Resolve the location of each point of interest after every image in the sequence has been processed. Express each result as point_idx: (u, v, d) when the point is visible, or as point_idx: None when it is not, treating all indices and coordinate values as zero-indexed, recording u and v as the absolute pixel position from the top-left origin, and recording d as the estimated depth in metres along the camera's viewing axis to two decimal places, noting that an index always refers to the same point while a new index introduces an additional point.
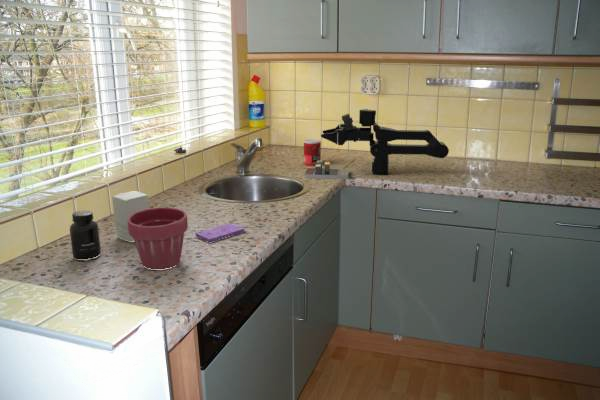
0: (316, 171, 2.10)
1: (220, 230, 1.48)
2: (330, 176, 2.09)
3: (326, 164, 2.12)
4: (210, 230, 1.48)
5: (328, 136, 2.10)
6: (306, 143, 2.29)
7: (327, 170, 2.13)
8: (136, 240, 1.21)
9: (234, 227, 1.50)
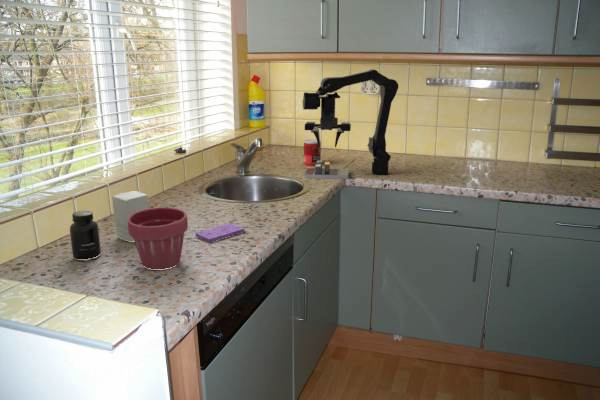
0: (316, 171, 2.10)
1: (220, 230, 1.48)
2: (330, 176, 2.09)
3: (326, 164, 2.12)
4: (210, 230, 1.48)
5: None
6: (306, 143, 2.29)
7: (327, 170, 2.13)
8: (136, 240, 1.21)
9: (234, 227, 1.50)
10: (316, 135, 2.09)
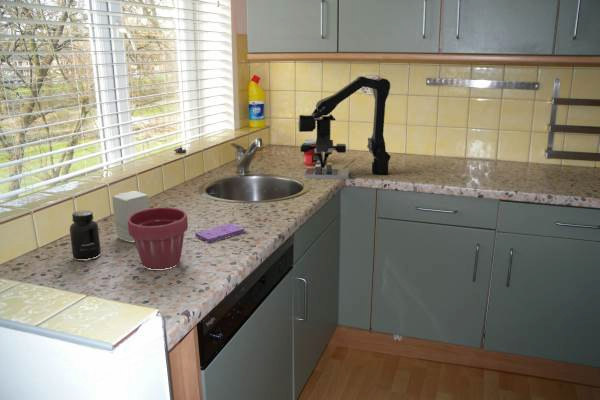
0: (316, 171, 2.10)
1: (220, 230, 1.48)
2: (330, 176, 2.09)
3: (328, 164, 2.12)
4: (210, 230, 1.48)
5: (326, 160, 2.13)
6: None
7: (329, 170, 2.13)
8: (136, 240, 1.21)
9: (234, 227, 1.50)
10: (319, 157, 2.11)
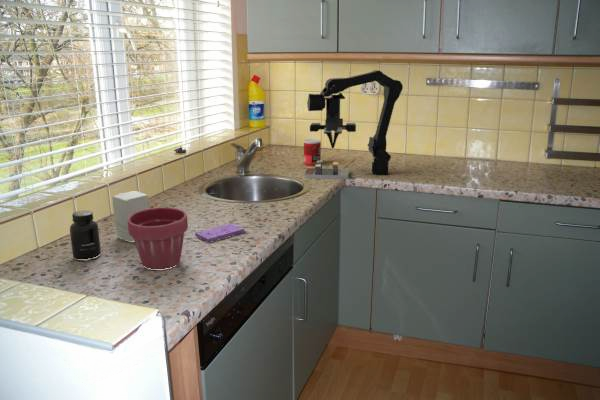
0: (316, 171, 2.10)
1: (220, 230, 1.48)
2: (330, 176, 2.09)
3: (334, 164, 2.12)
4: (210, 230, 1.48)
5: None
6: (306, 143, 2.29)
7: (335, 170, 2.13)
8: (136, 240, 1.21)
9: (234, 227, 1.50)
10: (329, 136, 2.08)
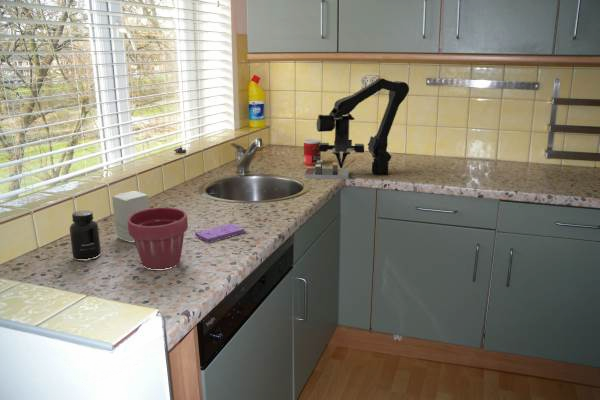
0: (316, 171, 2.10)
1: (220, 230, 1.48)
2: (330, 176, 2.09)
3: (334, 164, 2.12)
4: (210, 230, 1.48)
5: (344, 160, 2.12)
6: (306, 143, 2.29)
7: (335, 170, 2.13)
8: (136, 240, 1.21)
9: (234, 227, 1.50)
10: (337, 156, 2.10)
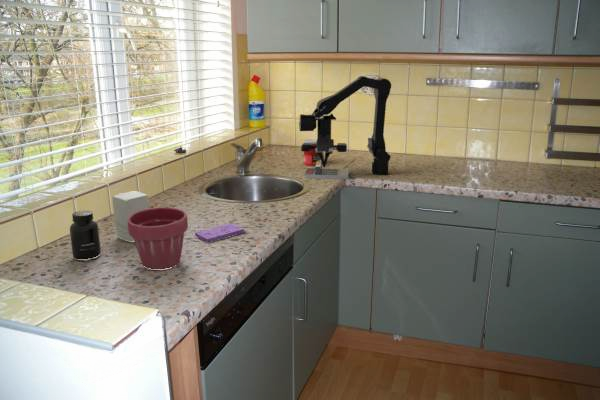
0: (316, 171, 2.10)
1: (220, 230, 1.48)
2: (330, 176, 2.09)
3: None
4: (210, 230, 1.48)
5: None
6: None
7: None
8: (136, 240, 1.21)
9: (234, 227, 1.50)
10: (320, 156, 2.11)
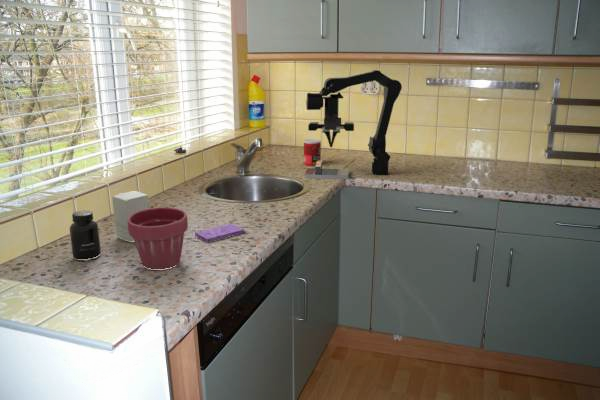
0: (316, 171, 2.10)
1: (220, 230, 1.48)
2: (330, 176, 2.09)
3: None
4: (210, 230, 1.48)
5: None
6: (306, 143, 2.29)
7: None
8: (136, 240, 1.21)
9: (234, 227, 1.50)
10: (327, 135, 2.10)
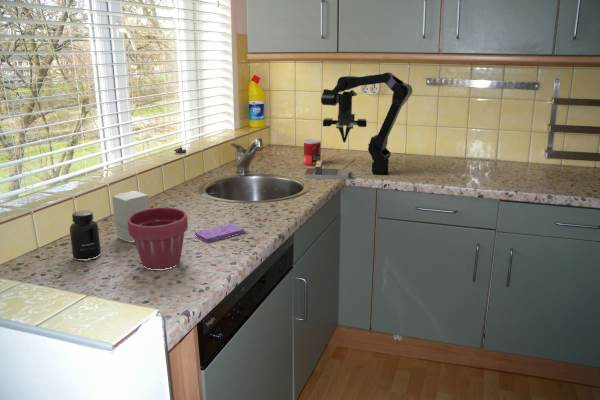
0: (316, 171, 2.10)
1: (220, 230, 1.48)
2: (330, 176, 2.09)
3: None
4: (210, 230, 1.48)
5: None
6: (306, 143, 2.29)
7: None
8: (136, 240, 1.21)
9: (234, 227, 1.50)
10: (341, 131, 2.19)
